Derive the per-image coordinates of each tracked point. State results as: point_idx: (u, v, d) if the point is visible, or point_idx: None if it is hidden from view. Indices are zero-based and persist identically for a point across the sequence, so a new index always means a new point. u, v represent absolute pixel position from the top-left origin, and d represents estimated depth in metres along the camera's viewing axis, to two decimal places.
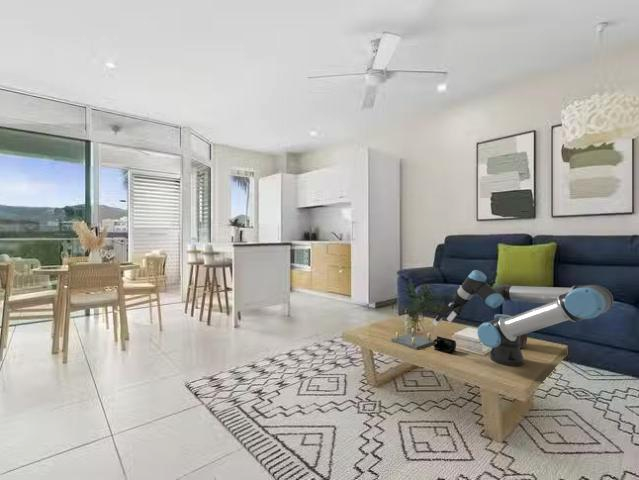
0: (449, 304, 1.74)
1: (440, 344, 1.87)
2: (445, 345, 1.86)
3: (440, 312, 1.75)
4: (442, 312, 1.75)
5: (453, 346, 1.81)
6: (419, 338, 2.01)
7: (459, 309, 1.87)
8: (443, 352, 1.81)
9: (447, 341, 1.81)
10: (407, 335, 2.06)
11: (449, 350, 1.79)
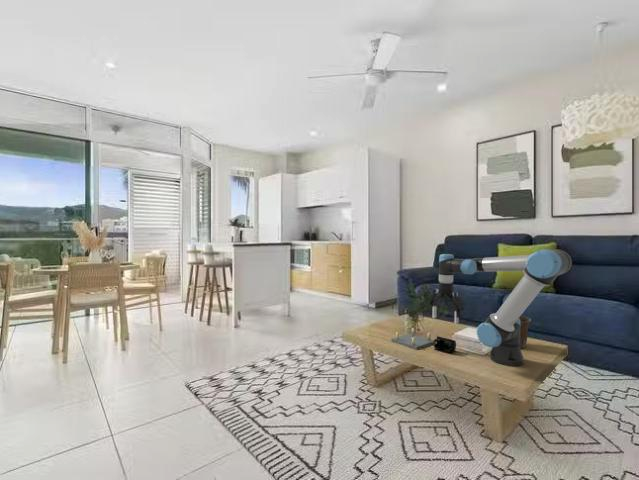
0: None
1: (440, 344, 1.87)
2: (445, 345, 1.86)
3: None
4: None
5: (453, 346, 1.81)
6: (419, 338, 2.01)
7: (461, 308, 1.76)
8: (443, 352, 1.81)
9: (447, 341, 1.81)
10: (407, 335, 2.06)
11: (449, 350, 1.79)
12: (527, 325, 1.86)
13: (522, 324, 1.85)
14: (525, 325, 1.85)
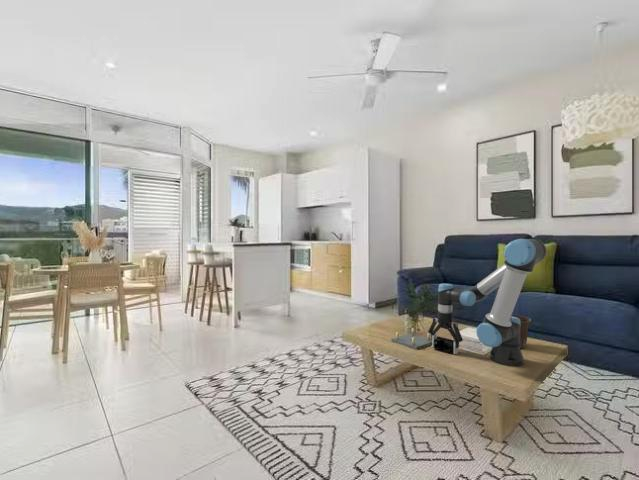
0: None
1: (440, 344, 1.87)
2: (445, 345, 1.86)
3: None
4: None
5: (453, 346, 1.81)
6: (419, 338, 2.01)
7: (460, 339, 1.77)
8: (443, 352, 1.81)
9: (447, 341, 1.81)
10: (407, 335, 2.06)
11: (449, 350, 1.79)
12: (527, 325, 1.86)
13: (522, 324, 1.85)
14: (525, 325, 1.85)
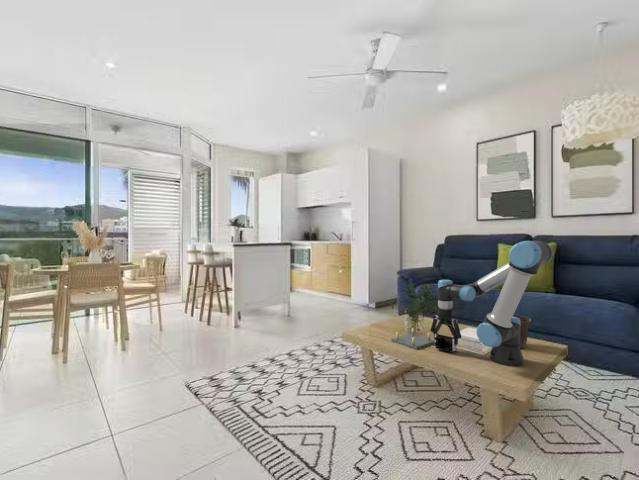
0: None
1: (441, 342, 1.86)
2: (446, 343, 1.85)
3: None
4: None
5: None
6: (419, 338, 2.01)
7: None
8: None
9: (448, 339, 1.81)
10: (407, 335, 2.06)
11: (450, 348, 1.78)
12: (527, 325, 1.86)
13: (522, 324, 1.85)
14: (525, 325, 1.85)
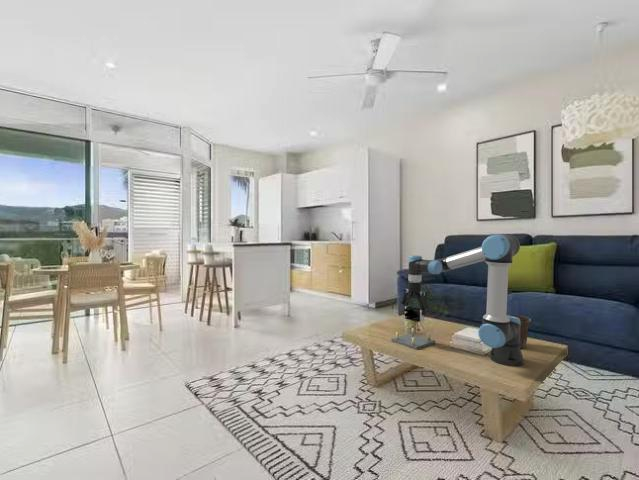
0: None
1: (410, 313, 1.99)
2: (415, 314, 1.99)
3: None
4: None
5: None
6: (419, 338, 2.01)
7: None
8: (412, 320, 1.94)
9: (416, 310, 1.94)
10: (407, 335, 2.06)
11: (417, 318, 1.92)
12: (527, 325, 1.86)
13: (522, 324, 1.85)
14: (525, 325, 1.85)
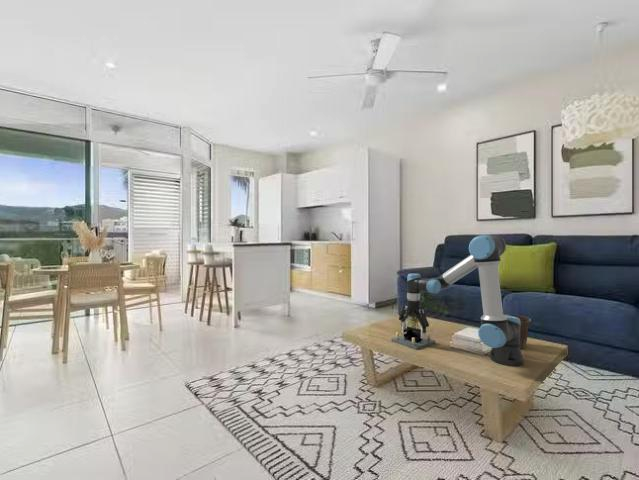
0: None
1: (410, 334, 2.00)
2: (414, 335, 1.99)
3: None
4: None
5: None
6: None
7: (427, 324, 1.90)
8: None
9: (415, 331, 1.95)
10: None
11: (416, 339, 1.92)
12: (527, 325, 1.86)
13: (522, 324, 1.85)
14: (525, 325, 1.85)
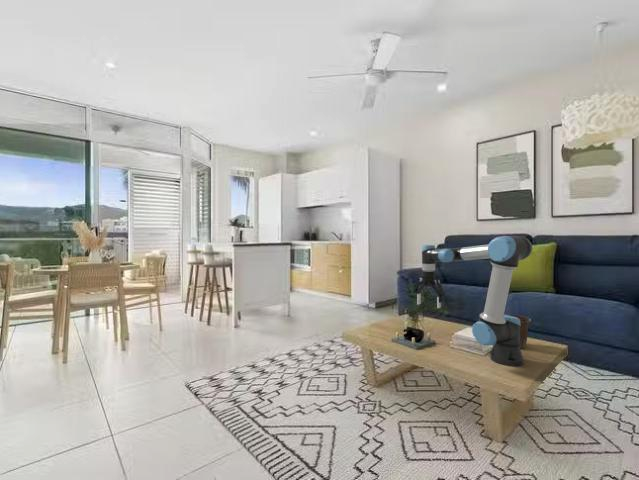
0: None
1: (410, 334, 2.00)
2: (414, 335, 1.99)
3: None
4: None
5: (421, 335, 1.94)
6: None
7: None
8: None
9: (415, 331, 1.95)
10: None
11: (416, 339, 1.92)
12: (527, 325, 1.86)
13: (522, 324, 1.85)
14: (525, 325, 1.85)
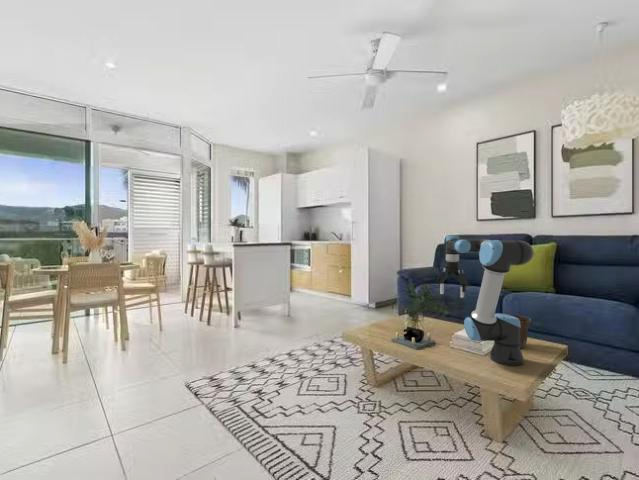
0: None
1: (410, 334, 2.00)
2: (414, 335, 1.99)
3: None
4: None
5: (421, 335, 1.94)
6: None
7: (467, 283, 1.96)
8: None
9: (415, 331, 1.95)
10: None
11: (416, 339, 1.92)
12: (527, 325, 1.86)
13: (522, 324, 1.85)
14: (525, 325, 1.85)
